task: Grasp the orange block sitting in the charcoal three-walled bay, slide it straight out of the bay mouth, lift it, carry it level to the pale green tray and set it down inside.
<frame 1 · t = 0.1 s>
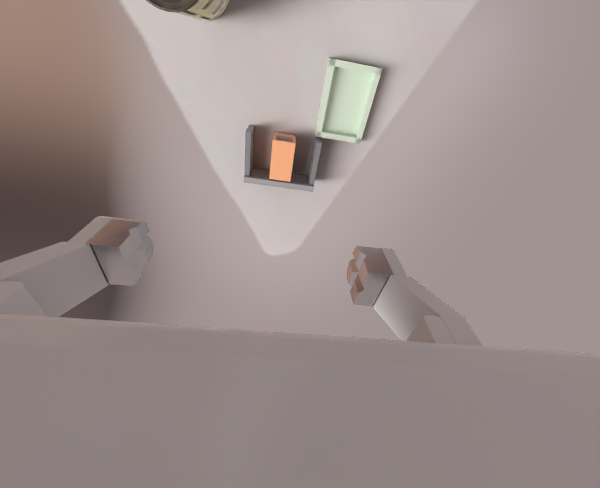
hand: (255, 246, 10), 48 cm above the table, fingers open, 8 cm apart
orange block: (282, 152, 55), on the table
tray: (344, 102, 49), on the table
bay: (282, 154, 55), on the table
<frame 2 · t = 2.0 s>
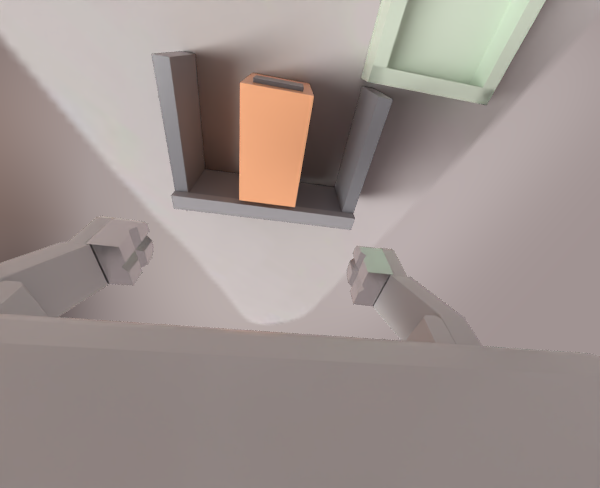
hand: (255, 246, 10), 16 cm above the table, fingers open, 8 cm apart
orange block: (276, 131, 22), on the table
bay: (275, 137, 22), on the table
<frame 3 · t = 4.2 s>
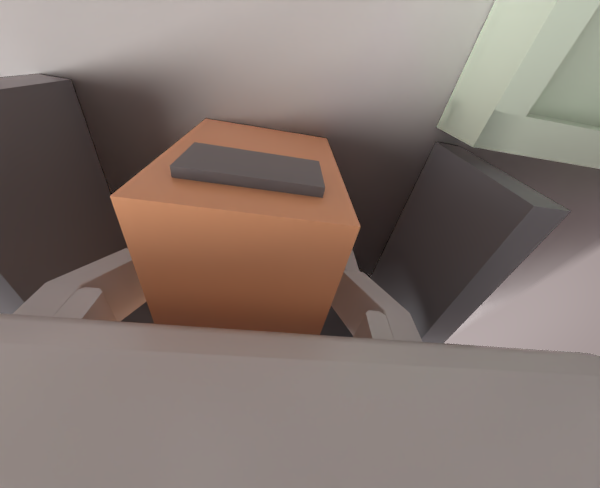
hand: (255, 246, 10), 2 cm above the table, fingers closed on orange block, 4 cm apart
orange block: (261, 218, 12), on the table, touching gripper
bay: (260, 227, 12), on the table
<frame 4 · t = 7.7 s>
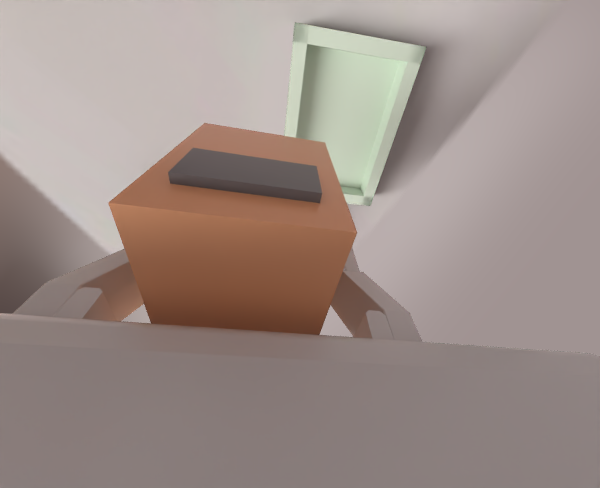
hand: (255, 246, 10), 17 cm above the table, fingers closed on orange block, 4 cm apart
orange block: (260, 221, 12), point 15 cm above the table, touching gripper
tray: (336, 126, 23), on the table
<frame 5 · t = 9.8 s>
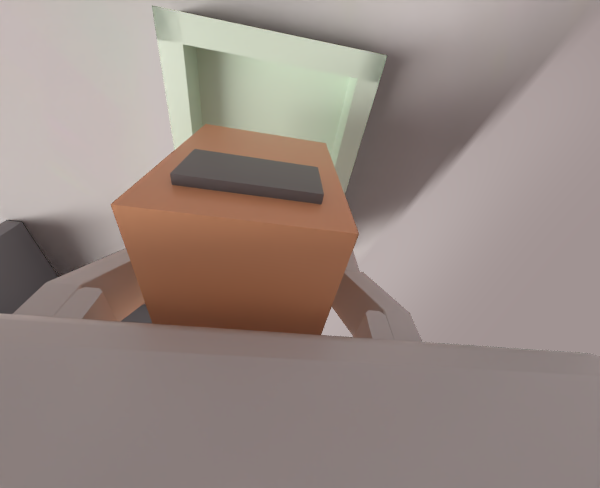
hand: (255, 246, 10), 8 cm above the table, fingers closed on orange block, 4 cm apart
orange block: (260, 222, 12), point 6 cm above the table, touching gripper
tray: (268, 164, 16), on the table
bay: (133, 276, 22), on the table
when the fingers open (4 cm above the table, at t = 11.3 s): orange block drops 1 cm, resting on tray.
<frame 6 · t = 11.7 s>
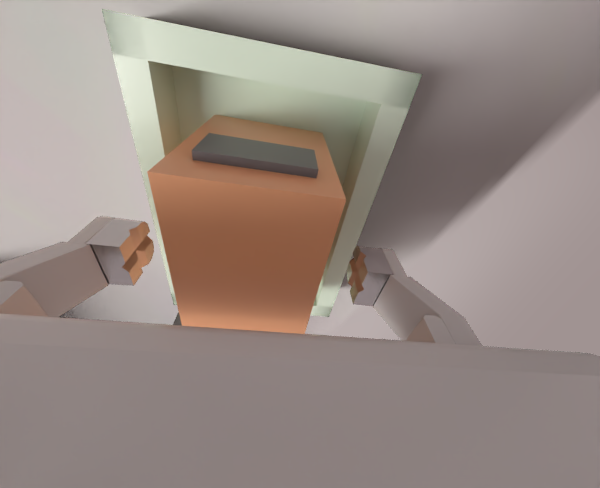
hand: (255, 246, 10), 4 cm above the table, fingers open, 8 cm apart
orange block: (263, 206, 13), point 1 cm above the table, touching tray
tray: (265, 199, 13), on the table
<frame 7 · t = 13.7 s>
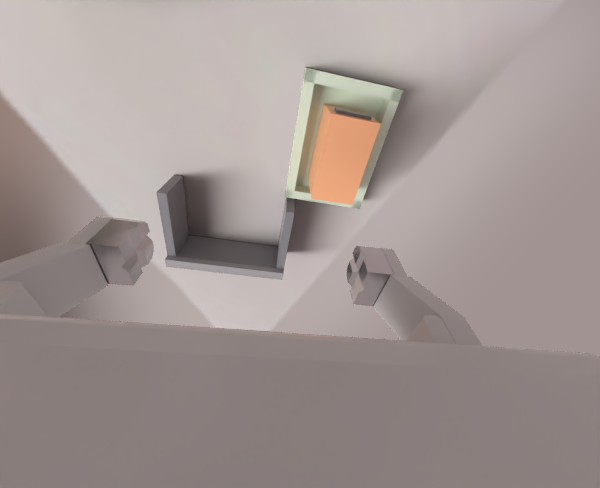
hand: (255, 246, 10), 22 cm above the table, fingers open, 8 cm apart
orange block: (334, 146, 28), point 1 cm above the table, touching tray
tray: (334, 144, 29), on the table
bay: (235, 218, 34), on the table
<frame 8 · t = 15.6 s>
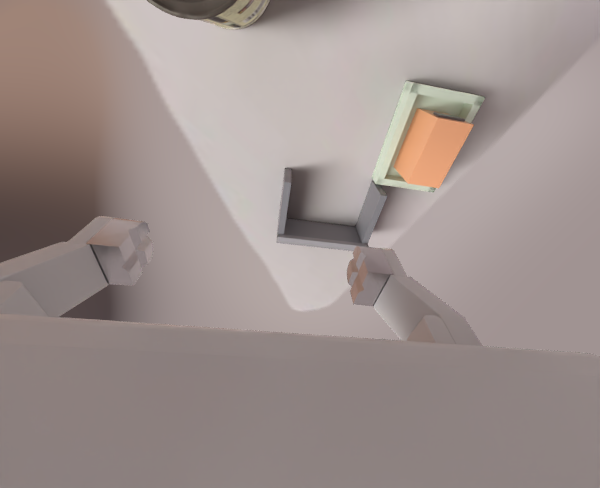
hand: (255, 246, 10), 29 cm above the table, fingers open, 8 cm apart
orange block: (419, 141, 35), point 1 cm above the table, touching tray
tray: (417, 139, 36), on the table
bay: (325, 202, 42), on the table
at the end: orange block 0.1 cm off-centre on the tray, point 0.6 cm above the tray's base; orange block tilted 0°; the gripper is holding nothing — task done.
